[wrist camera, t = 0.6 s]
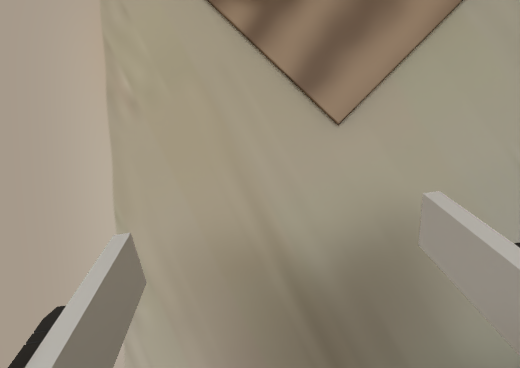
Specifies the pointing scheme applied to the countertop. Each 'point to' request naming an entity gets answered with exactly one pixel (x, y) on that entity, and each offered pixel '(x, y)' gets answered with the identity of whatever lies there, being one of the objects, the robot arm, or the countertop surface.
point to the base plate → (336, 41)
